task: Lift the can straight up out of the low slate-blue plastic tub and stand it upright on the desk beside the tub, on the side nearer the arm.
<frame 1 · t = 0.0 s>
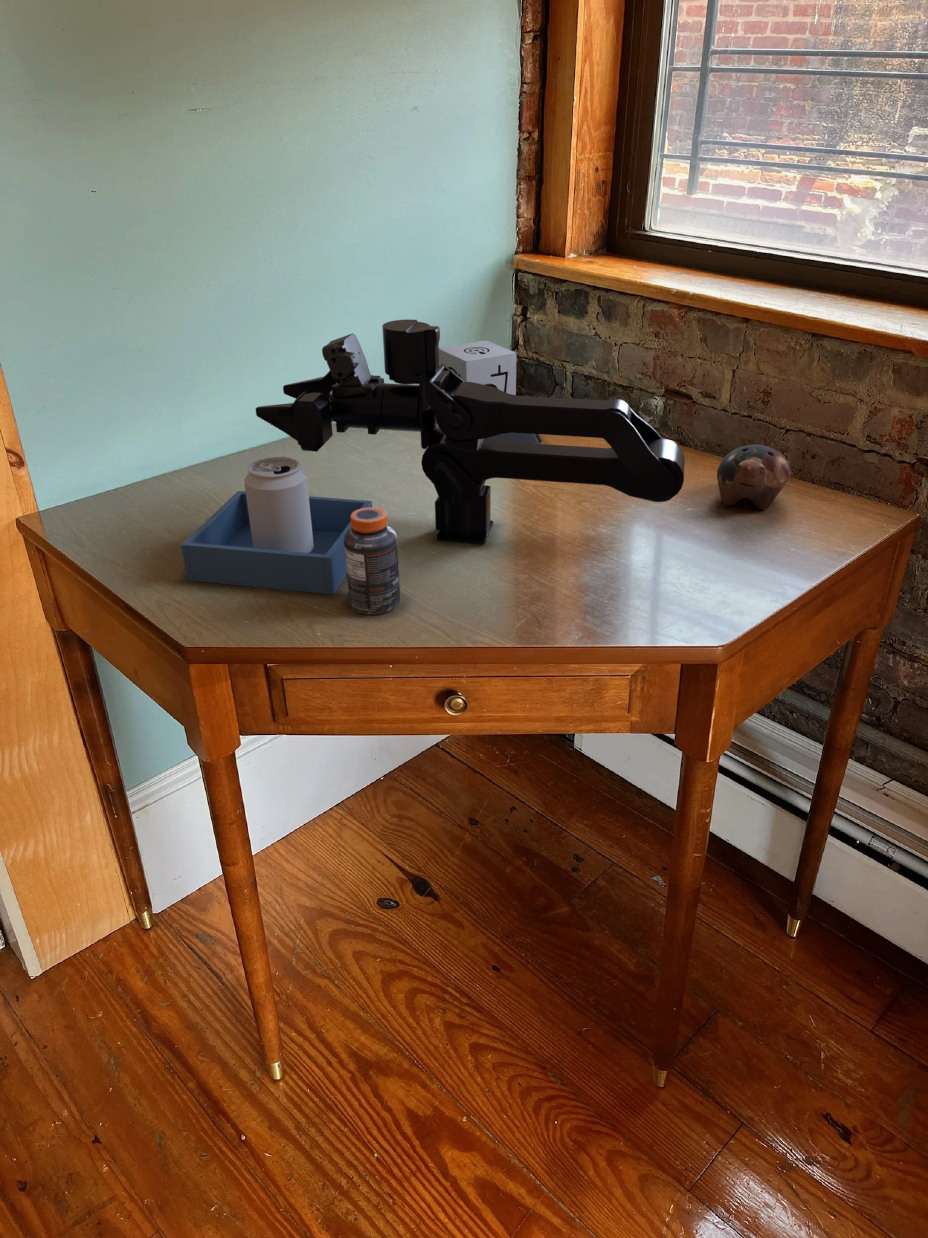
hand: (270, 400, 123), 17 cm above the table, tool horizontal, fingers open, 9 cm apart
can: (284, 555, 121), resting on tub
pill bottle: (375, 604, 110), on the table
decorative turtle: (749, 501, 135), on the table
icon cube: (477, 407, 172), on the table
tub: (284, 556, 121), on the table
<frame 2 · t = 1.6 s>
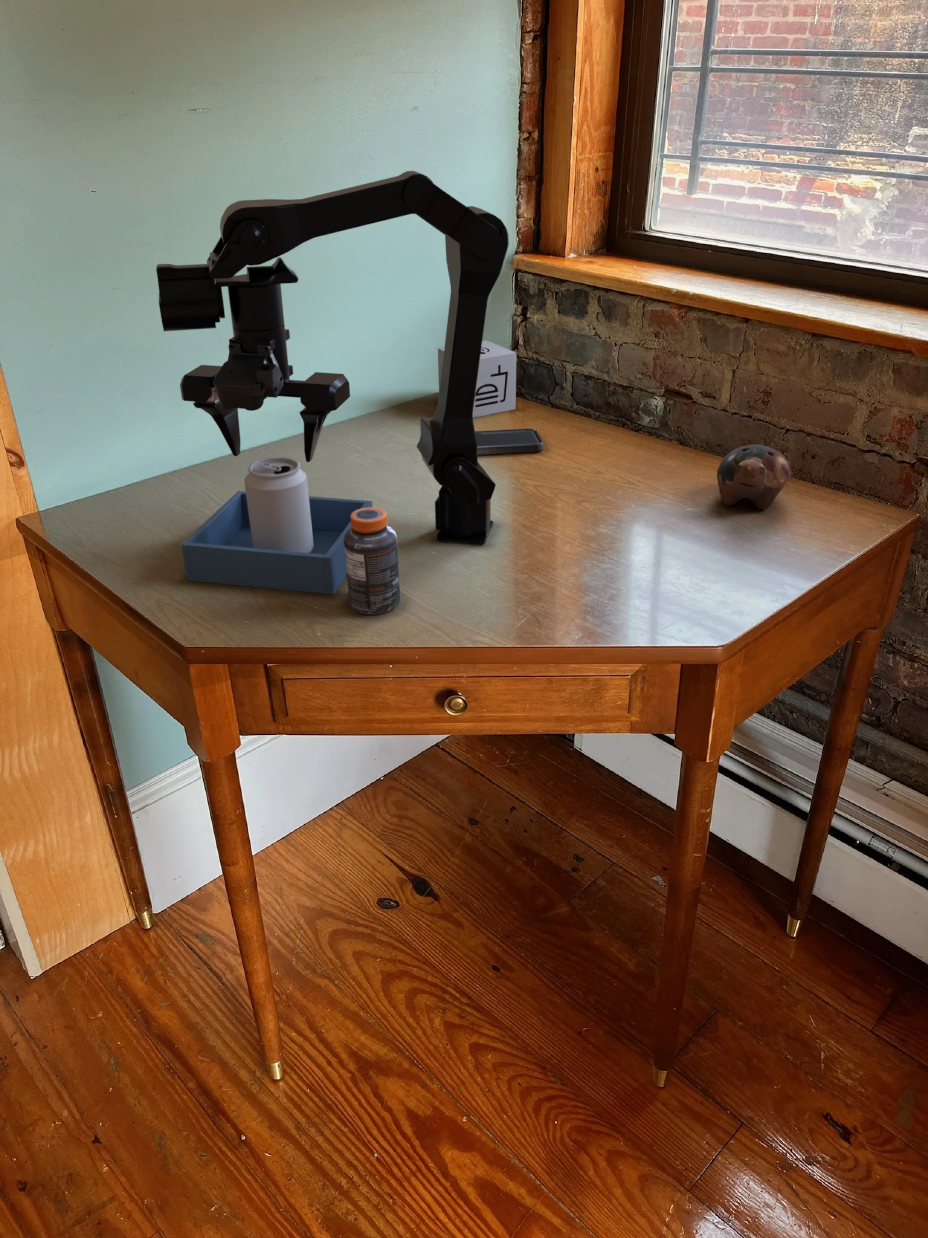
hand: (272, 457, 114), 13 cm above the table, tool pointing down, fingers open, 9 cm apart
nothing on the table moved.
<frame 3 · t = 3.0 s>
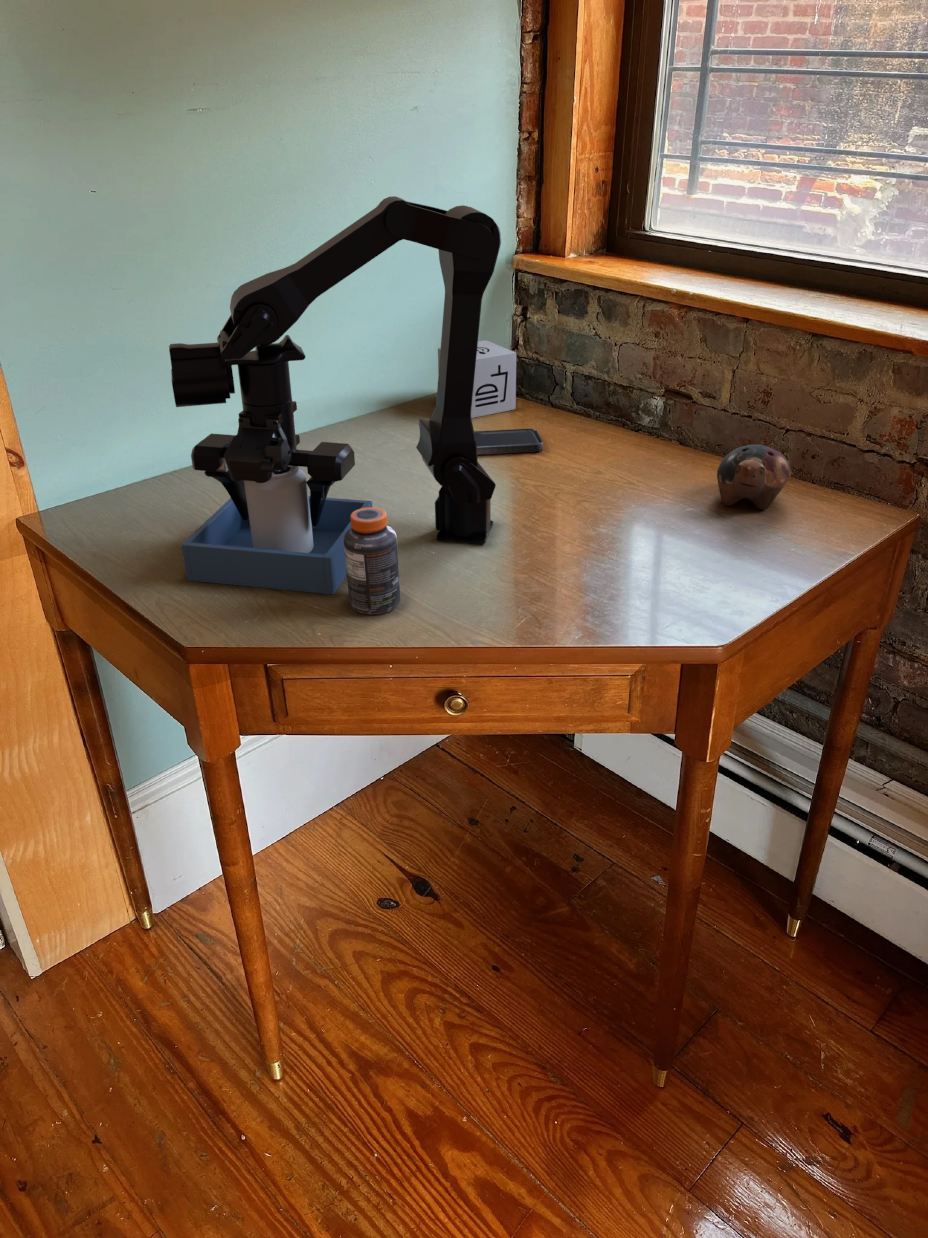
hand: (280, 522, 119), 5 cm above the table, tool pointing down
can: (284, 555, 121), resting on tub, touching gripper
everything else where it was.
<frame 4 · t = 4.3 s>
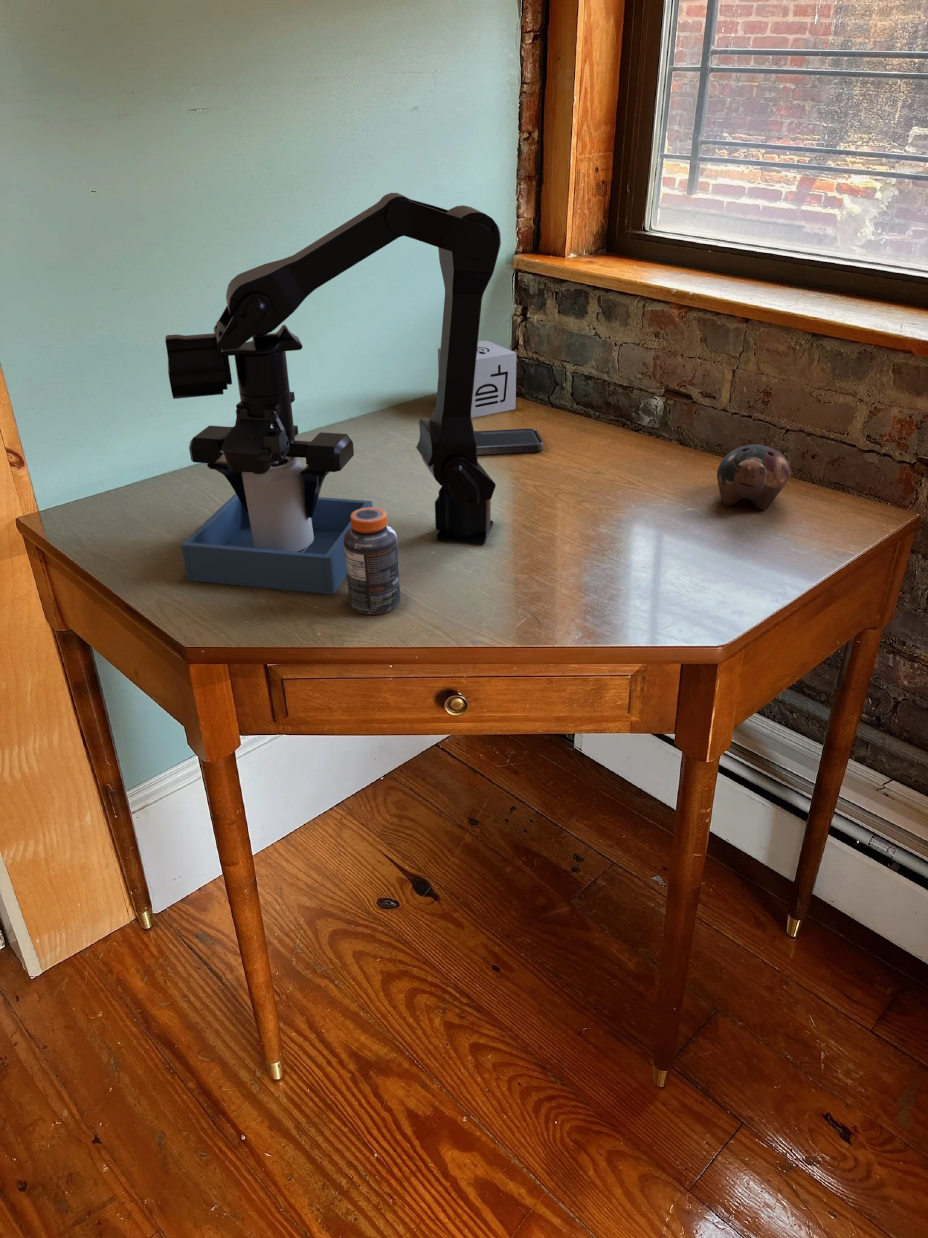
hand: (279, 514, 118), 6 cm above the table, tool pointing down, fingers closed on can, 7 cm apart
can: (285, 548, 120), point 1 cm above the table, touching gripper
everything else where it was.
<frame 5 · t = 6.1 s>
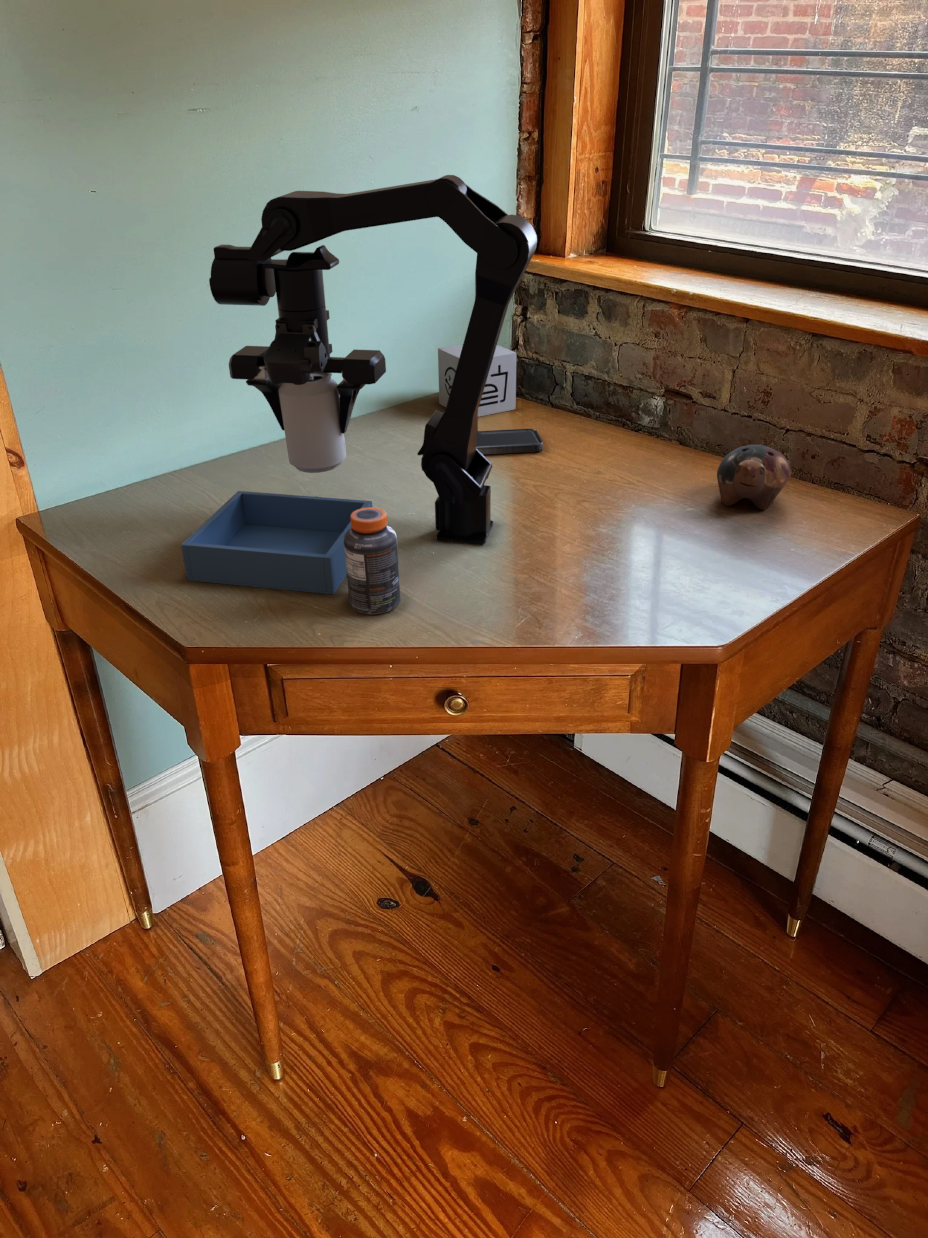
hand: (314, 430, 123), 13 cm above the table, tool pointing down, fingers closed on can, 8 cm apart
can: (318, 465, 126), point 8 cm above the table, touching gripper
everything else where it was.
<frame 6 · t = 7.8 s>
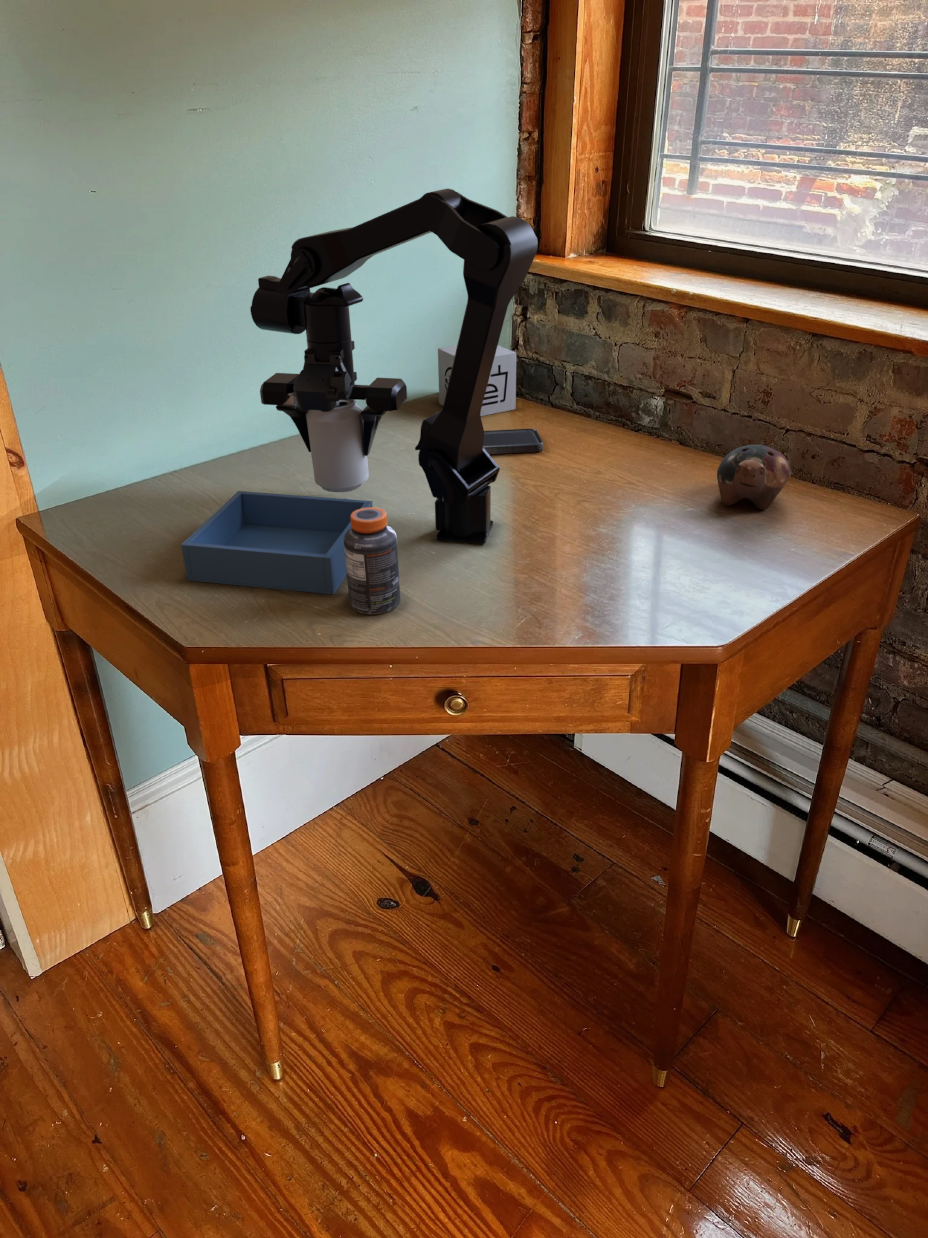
hand: (339, 453, 131), 8 cm above the table, tool pointing down, fingers closed on can, 8 cm apart
can: (342, 485, 133), point 3 cm above the table, touching gripper
everything else where it was.
when the fingers open (5 cm above the table, at t = 9.1 s): can stays where it is, on the table.
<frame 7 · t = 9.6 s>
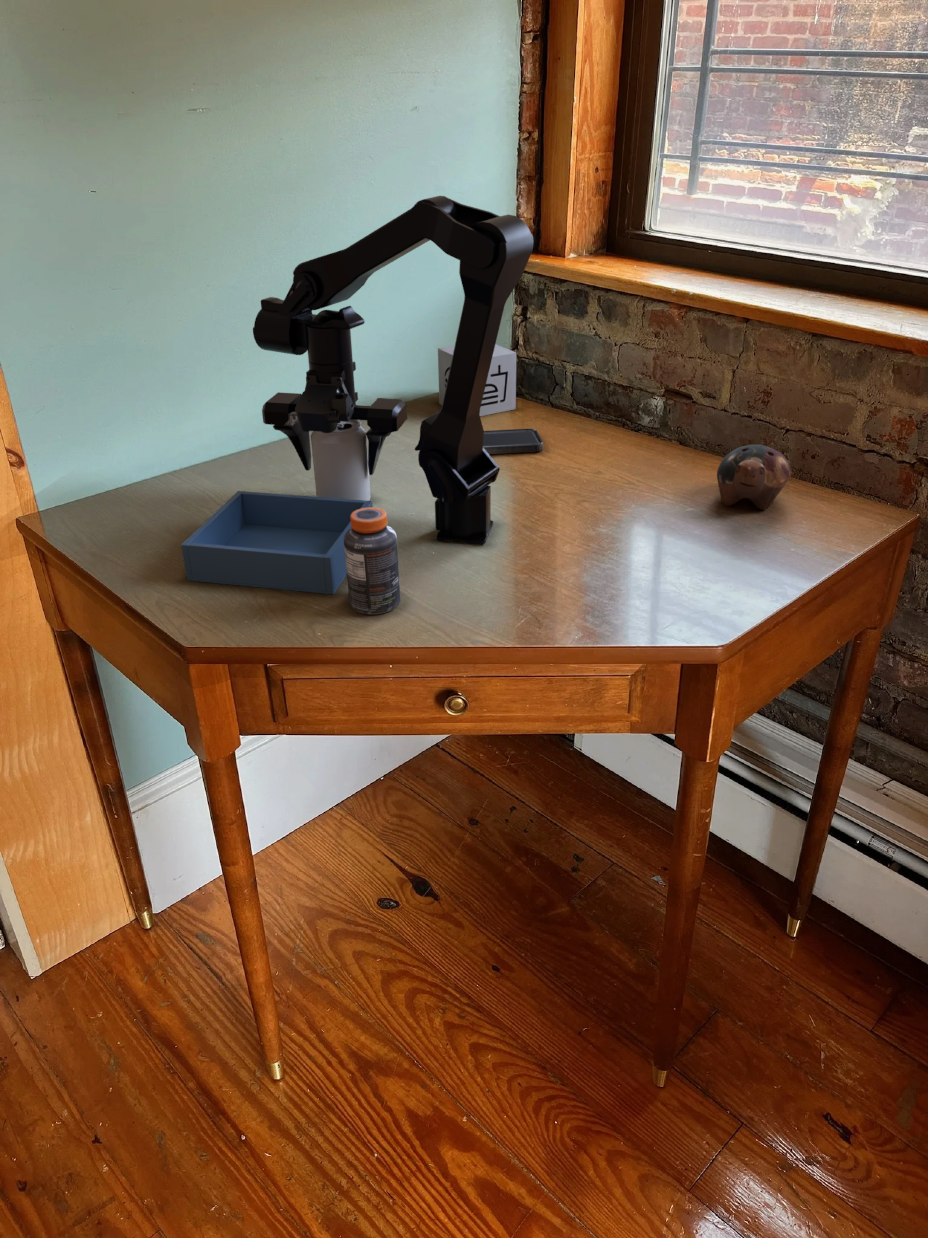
hand: (339, 471, 132), 5 cm above the table, tool pointing down, fingers open, 9 cm apart
can: (344, 505, 135), on the table
everything else where it was.
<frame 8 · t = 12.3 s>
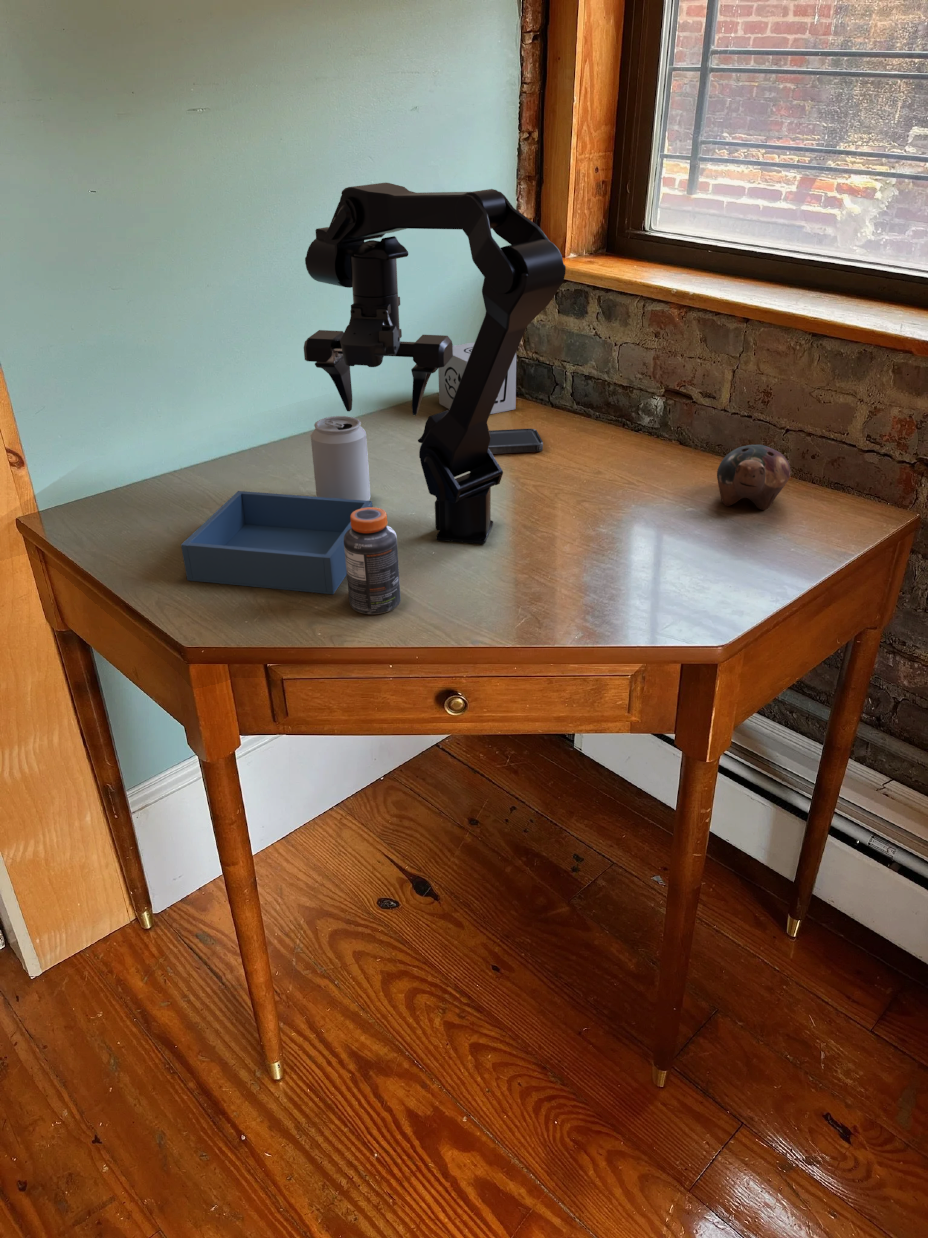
hand: (382, 412, 129), 13 cm above the table, tool pointing down, fingers open, 9 cm apart
nothing on the table moved.
at the end: can inside the target area (0.2 cm from its centre), on the table; can tilted 0°; the gripper is holding nothing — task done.
